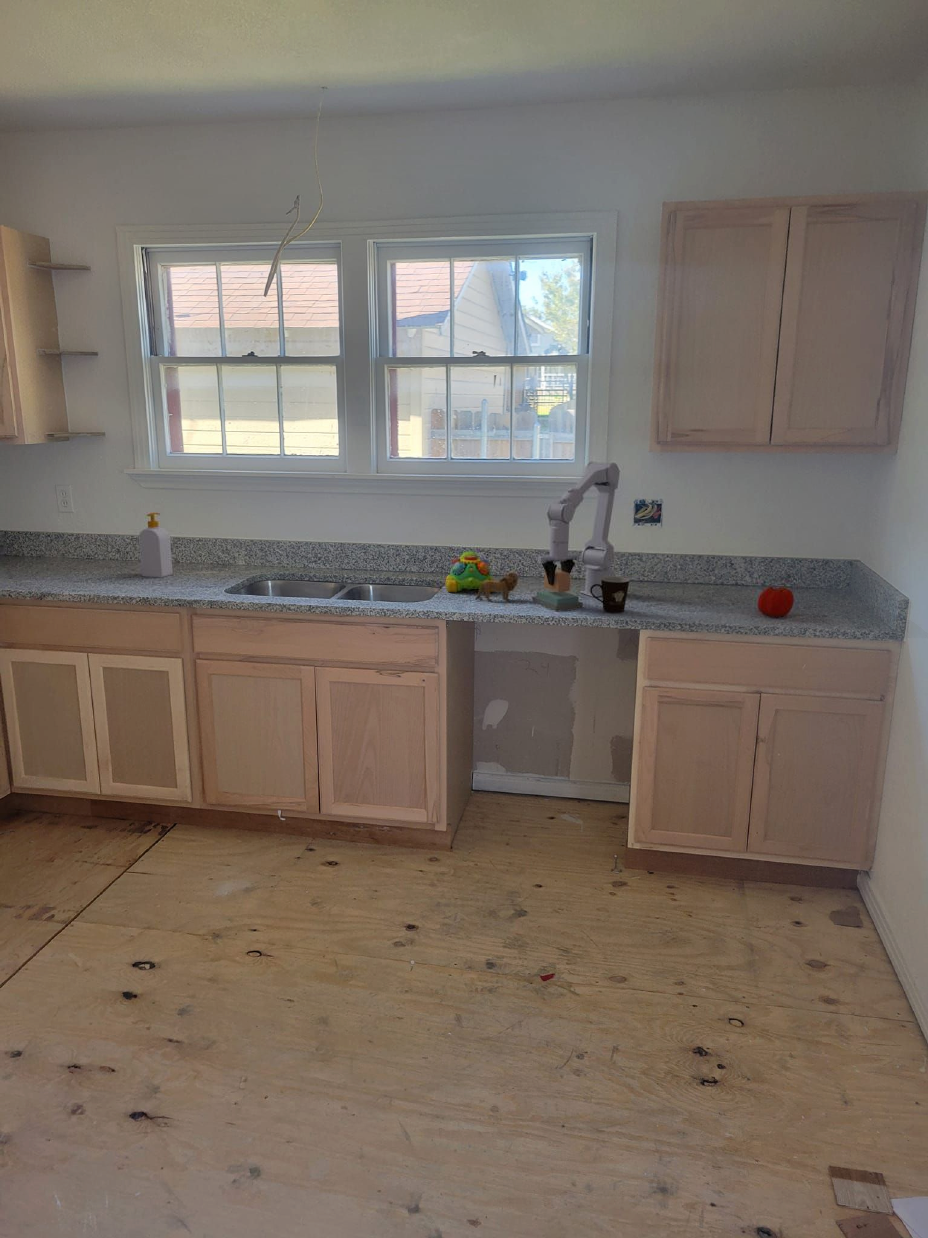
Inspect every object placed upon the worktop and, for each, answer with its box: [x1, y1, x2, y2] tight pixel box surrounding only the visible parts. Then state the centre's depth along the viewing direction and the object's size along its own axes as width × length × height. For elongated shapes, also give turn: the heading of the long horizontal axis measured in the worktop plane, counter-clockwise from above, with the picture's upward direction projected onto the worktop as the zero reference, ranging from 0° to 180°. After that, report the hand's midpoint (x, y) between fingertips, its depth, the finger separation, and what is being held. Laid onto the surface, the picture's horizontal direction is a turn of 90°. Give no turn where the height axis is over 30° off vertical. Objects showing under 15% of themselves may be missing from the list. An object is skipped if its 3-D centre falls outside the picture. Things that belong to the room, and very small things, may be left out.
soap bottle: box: [138, 512, 174, 579], centre depth 302 cm, size 9×7×23 cm
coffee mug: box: [590, 576, 630, 614], centre depth 258 cm, size 12×9×10 cm
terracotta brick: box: [543, 569, 571, 592], centre depth 264 cm, size 4×8×6 cm, turn 27°
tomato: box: [757, 586, 795, 618], centre depth 253 cm, size 11×11×9 cm
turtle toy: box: [445, 551, 495, 593], centre depth 288 cm, size 17×23×12 cm
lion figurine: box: [474, 571, 519, 602], centre depth 271 cm, size 15×5×9 cm, turn 107°
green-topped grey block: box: [531, 589, 584, 612], centre depth 265 cm, size 10×14×4 cm
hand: (557, 583), depth 264 cm, fingers closed on terracotta brick, 4 cm apart
